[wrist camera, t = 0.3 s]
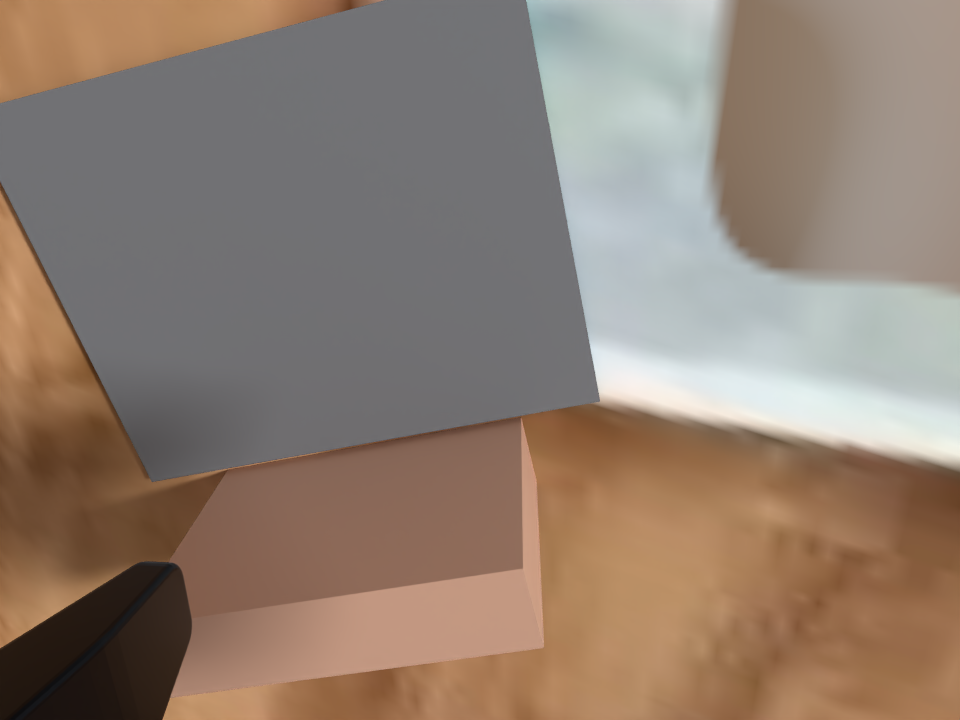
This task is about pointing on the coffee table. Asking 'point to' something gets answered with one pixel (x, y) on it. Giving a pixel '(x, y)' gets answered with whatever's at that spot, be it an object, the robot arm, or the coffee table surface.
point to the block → (365, 561)
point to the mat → (310, 234)
